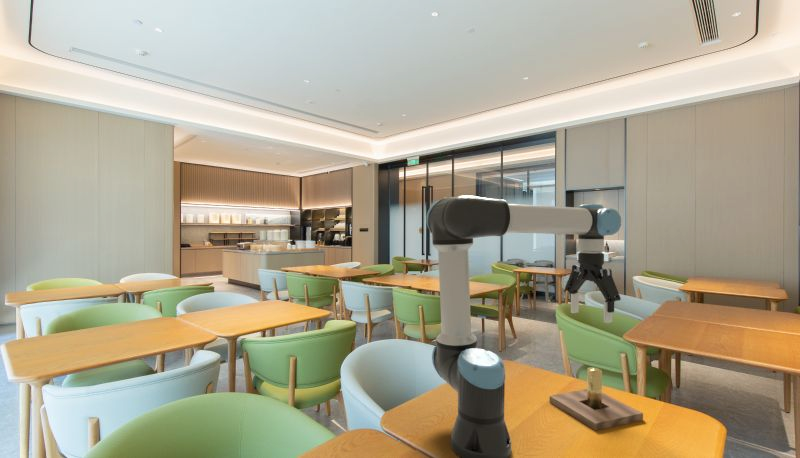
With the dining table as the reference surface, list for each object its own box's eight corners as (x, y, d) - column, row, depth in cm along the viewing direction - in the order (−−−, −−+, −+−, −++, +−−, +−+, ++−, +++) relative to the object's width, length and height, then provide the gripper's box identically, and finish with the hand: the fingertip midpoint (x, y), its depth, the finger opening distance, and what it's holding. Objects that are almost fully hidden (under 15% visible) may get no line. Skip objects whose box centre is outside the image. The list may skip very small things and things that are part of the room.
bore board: (595, 430, 105) (595, 423, 105) (549, 401, 122) (549, 395, 122) (642, 419, 111) (643, 413, 111) (592, 393, 128) (592, 388, 128)
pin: (594, 412, 114) (595, 372, 114) (584, 407, 118) (584, 368, 118) (604, 410, 115) (605, 371, 115) (593, 405, 119) (594, 366, 119)
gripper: (634, 254, 113) (633, 326, 113) (571, 249, 136) (571, 308, 137) (615, 255, 110) (614, 328, 111) (554, 249, 134) (554, 309, 134)
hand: (590, 317), depth 124 cm, fingers open, 13 cm apart
